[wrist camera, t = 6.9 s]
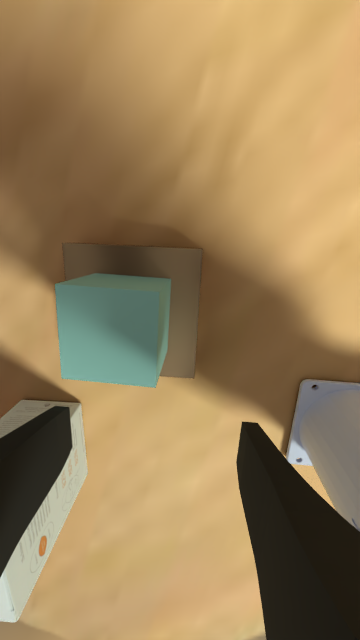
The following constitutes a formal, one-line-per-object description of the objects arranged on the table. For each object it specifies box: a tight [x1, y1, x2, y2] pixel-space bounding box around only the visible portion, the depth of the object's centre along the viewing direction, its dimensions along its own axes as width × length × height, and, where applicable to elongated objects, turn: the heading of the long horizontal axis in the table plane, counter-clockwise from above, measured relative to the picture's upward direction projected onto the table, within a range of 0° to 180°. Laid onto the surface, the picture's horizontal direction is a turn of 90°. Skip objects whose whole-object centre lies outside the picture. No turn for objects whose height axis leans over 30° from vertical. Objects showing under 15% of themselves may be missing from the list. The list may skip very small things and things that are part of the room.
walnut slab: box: [62, 243, 203, 378], centre depth 19 cm, size 9×9×3 cm
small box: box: [0, 400, 88, 622], centre depth 19 cm, size 8×6×10 cm
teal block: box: [55, 273, 171, 388], centre depth 15 cm, size 5×5×5 cm
